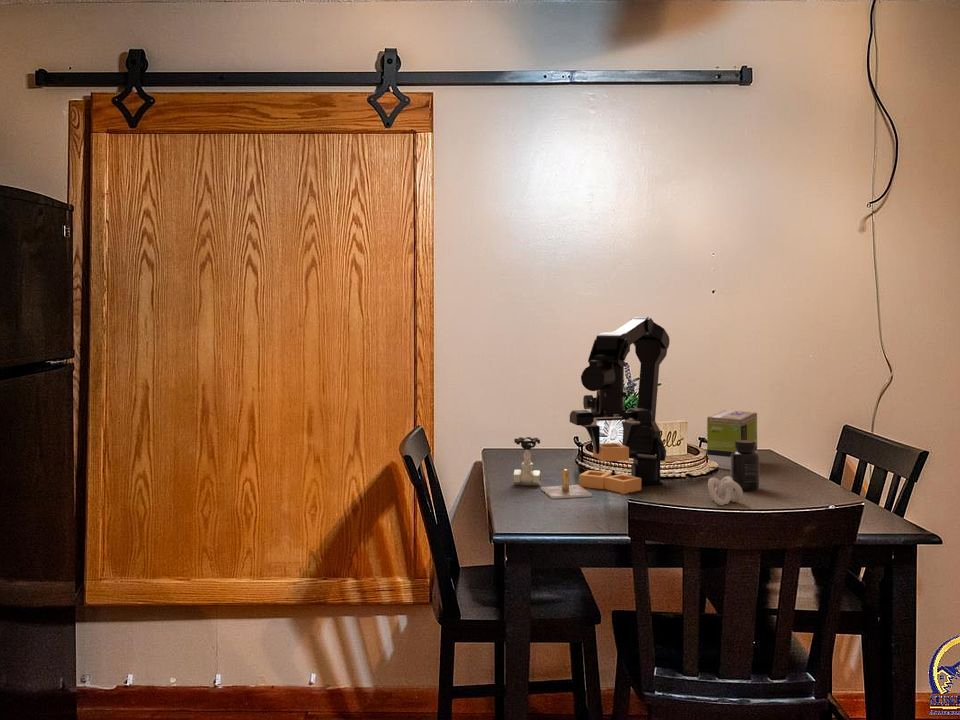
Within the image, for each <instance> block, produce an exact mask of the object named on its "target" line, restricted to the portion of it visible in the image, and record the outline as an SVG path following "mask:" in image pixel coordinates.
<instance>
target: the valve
mask: <svg viewBox="0 0 960 720" xmlns="http://www.w3.org/2000/svg"><path fill="white" fill-rule="evenodd" d="M513 442H514V443H515V444H516V445H520V447H521V448H522V449H523V450H525V452H523V459H524V460H523V462H521V465H520V466H521V468H522V469H514V471H513V483H514V485H523V486H526V487H528V486H529V487H530V486H532V485H534V486H540V485H541V481H542V473H541V471H540V470H538V469H537V470H533V468H534V463H533V462H532V460H531V459H532V454H531V453H532V452H530V450H532V449H533V448H535V447H536V445H537V444H541V439H540V438H538V437H531V436H526V437H518V438H514V441H513Z"/></svg>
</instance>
